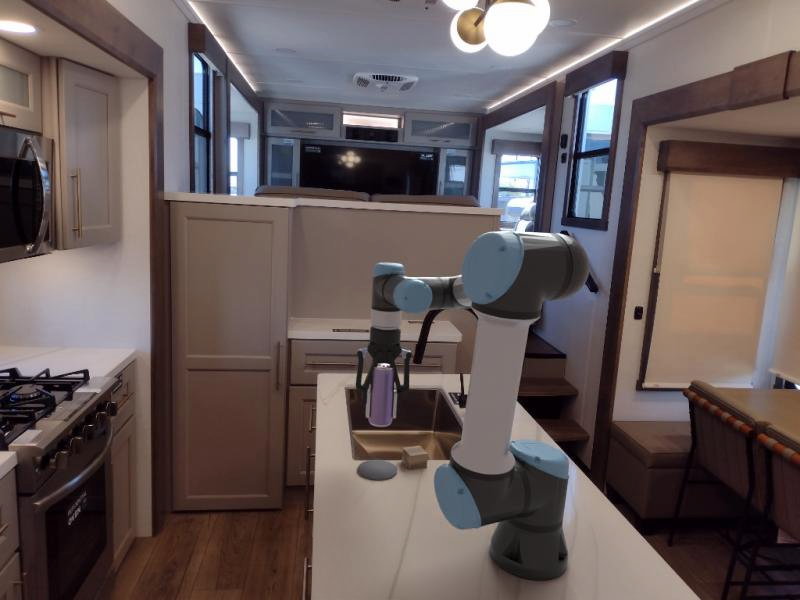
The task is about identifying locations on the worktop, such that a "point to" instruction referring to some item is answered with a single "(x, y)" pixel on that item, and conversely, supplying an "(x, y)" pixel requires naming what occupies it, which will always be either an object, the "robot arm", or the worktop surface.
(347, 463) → the worktop surface
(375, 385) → the beverage can
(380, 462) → the coaster
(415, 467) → the walnut block
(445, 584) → the worktop surface
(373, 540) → the worktop surface
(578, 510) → the worktop surface
